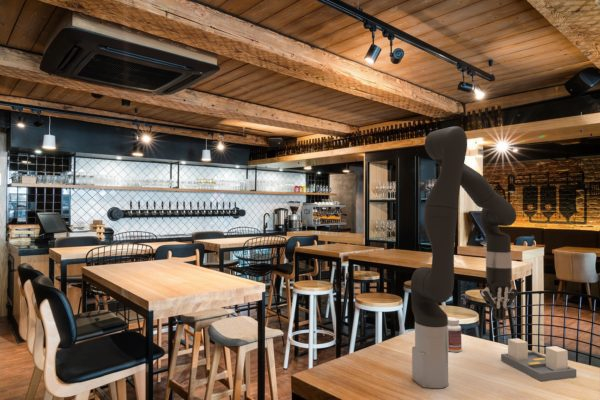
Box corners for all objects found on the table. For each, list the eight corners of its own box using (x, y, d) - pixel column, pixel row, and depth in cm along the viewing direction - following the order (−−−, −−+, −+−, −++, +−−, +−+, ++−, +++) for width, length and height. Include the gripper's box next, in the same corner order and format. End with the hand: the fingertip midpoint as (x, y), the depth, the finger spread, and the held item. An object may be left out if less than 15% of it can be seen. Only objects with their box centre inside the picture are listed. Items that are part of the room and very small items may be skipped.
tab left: (517, 362, 126) (517, 343, 126) (508, 357, 130) (507, 339, 130) (527, 361, 127) (527, 342, 127) (518, 356, 131) (518, 338, 131)
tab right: (557, 371, 119) (556, 351, 119) (545, 366, 123) (545, 347, 123) (567, 370, 120) (567, 350, 120) (556, 365, 124) (556, 346, 124)
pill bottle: (464, 349, 142) (464, 318, 142) (456, 354, 137) (456, 322, 138) (447, 345, 146) (447, 315, 146) (440, 349, 142) (439, 318, 142)
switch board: (540, 381, 116) (540, 373, 116) (501, 360, 131) (500, 353, 131) (576, 376, 119) (576, 369, 119) (533, 357, 134) (533, 350, 134)
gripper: (488, 268, 123) (489, 324, 122) (525, 266, 126) (525, 321, 125) (472, 264, 130) (473, 317, 129) (507, 263, 133) (508, 314, 133)
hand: (499, 319), depth 127 cm, fingers closed
